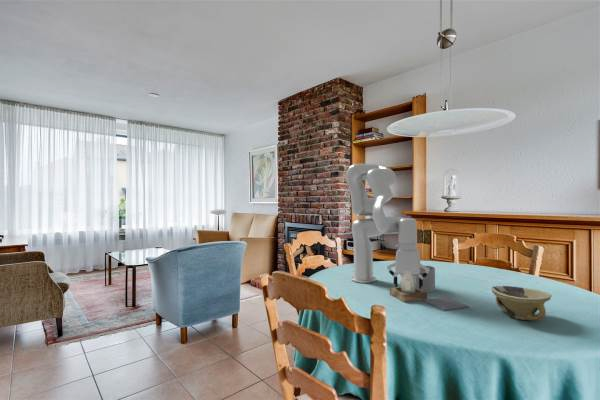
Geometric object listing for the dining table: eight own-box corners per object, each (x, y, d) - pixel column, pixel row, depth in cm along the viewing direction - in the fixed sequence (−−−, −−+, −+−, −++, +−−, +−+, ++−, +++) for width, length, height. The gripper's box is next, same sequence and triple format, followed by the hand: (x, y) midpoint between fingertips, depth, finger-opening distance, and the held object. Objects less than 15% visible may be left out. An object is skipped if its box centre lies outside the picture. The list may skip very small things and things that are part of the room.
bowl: (565, 323, 107) (565, 294, 107) (524, 330, 102) (524, 300, 102) (516, 306, 124) (516, 281, 124) (479, 311, 119) (479, 285, 119)
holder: (389, 294, 140) (389, 287, 140) (411, 292, 143) (411, 285, 143) (404, 302, 130) (404, 295, 130) (427, 299, 133) (427, 292, 133)
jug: (401, 294, 140) (400, 267, 140) (415, 295, 138) (415, 268, 138) (400, 300, 133) (400, 271, 133) (415, 301, 131) (415, 272, 131)
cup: (436, 292, 143) (436, 269, 143) (417, 291, 145) (417, 269, 145) (432, 286, 151) (432, 265, 151) (414, 286, 153) (414, 265, 153)
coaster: (423, 300, 132) (423, 299, 132) (447, 297, 135) (447, 296, 135) (443, 310, 120) (443, 309, 120) (469, 307, 123) (469, 305, 123)
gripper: (386, 247, 136) (386, 287, 136) (429, 249, 130) (430, 291, 130) (387, 245, 143) (387, 283, 143) (429, 246, 137) (429, 286, 137)
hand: (408, 286), depth 137 cm, fingers open, 9 cm apart
